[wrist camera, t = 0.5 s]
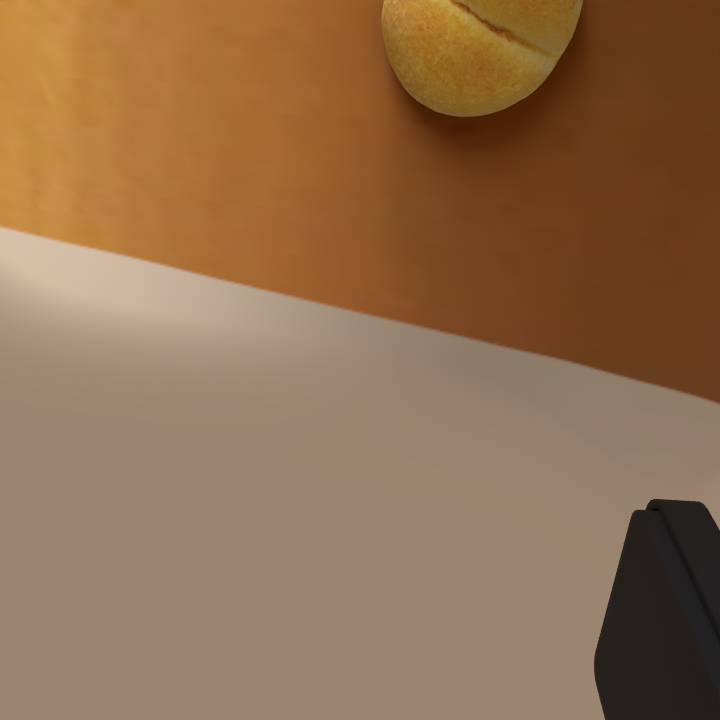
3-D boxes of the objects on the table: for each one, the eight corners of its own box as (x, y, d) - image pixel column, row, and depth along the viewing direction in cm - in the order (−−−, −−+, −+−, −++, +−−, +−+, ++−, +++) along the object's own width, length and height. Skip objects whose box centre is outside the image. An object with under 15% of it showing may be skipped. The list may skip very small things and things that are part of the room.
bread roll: (354, 51, 34) (347, 58, 30) (467, -136, 30) (473, -154, 26) (488, 149, 35) (496, 165, 32) (611, -17, 32) (635, -19, 28)
